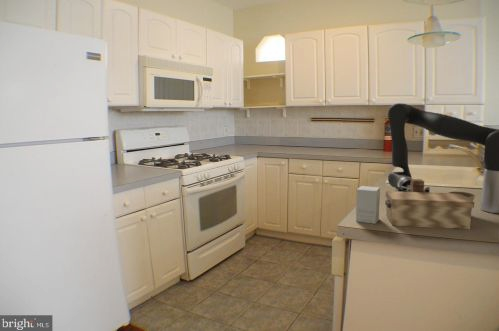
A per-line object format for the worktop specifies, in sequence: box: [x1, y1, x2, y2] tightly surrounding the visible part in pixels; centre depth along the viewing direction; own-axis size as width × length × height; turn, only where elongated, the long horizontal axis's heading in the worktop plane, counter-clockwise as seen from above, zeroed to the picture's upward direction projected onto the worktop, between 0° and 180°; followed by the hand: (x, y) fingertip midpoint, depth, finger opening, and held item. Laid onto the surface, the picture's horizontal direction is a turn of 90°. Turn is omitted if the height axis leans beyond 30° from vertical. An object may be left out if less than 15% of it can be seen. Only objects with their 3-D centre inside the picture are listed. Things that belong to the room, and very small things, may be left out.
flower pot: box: [447, 190, 476, 202], centre depth 144 cm, size 9×9×9 cm
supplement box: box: [355, 185, 381, 225], centre depth 138 cm, size 7×7×13 cm
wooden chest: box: [384, 190, 475, 230], centre depth 139 cm, size 28×21×10 cm
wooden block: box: [410, 178, 425, 192], centre depth 145 cm, size 4×4×14 cm
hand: (418, 195), depth 142 cm, fingers open, 4 cm apart
